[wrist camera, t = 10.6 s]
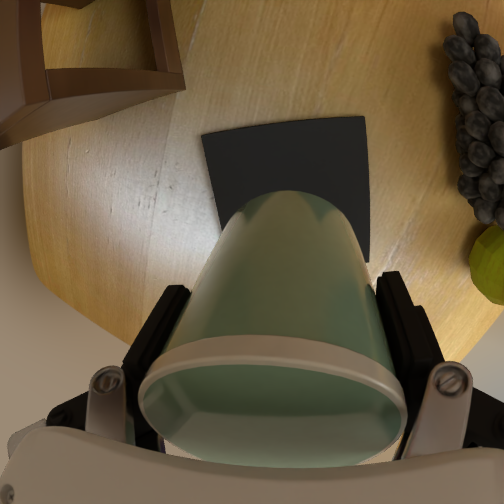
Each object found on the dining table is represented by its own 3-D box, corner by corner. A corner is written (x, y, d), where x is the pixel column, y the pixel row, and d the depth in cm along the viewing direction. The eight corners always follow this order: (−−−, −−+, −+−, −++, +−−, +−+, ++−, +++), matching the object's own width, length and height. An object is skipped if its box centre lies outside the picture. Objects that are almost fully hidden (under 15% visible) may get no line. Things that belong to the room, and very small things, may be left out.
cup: (204, 197, 13) (88, 344, 5) (359, 181, 12) (445, 341, 4) (233, 314, 16) (188, 467, 8) (358, 308, 15) (380, 471, 7)
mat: (202, 135, 19) (200, 135, 19) (363, 116, 17) (364, 116, 17) (232, 269, 24) (231, 272, 24) (368, 260, 22) (369, 262, 22)
